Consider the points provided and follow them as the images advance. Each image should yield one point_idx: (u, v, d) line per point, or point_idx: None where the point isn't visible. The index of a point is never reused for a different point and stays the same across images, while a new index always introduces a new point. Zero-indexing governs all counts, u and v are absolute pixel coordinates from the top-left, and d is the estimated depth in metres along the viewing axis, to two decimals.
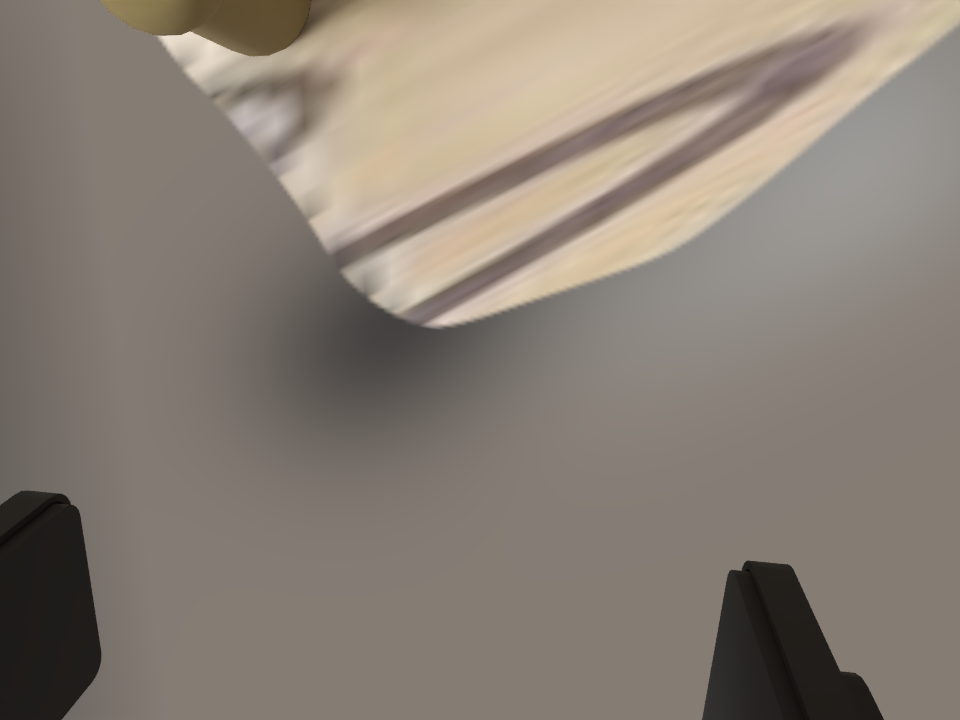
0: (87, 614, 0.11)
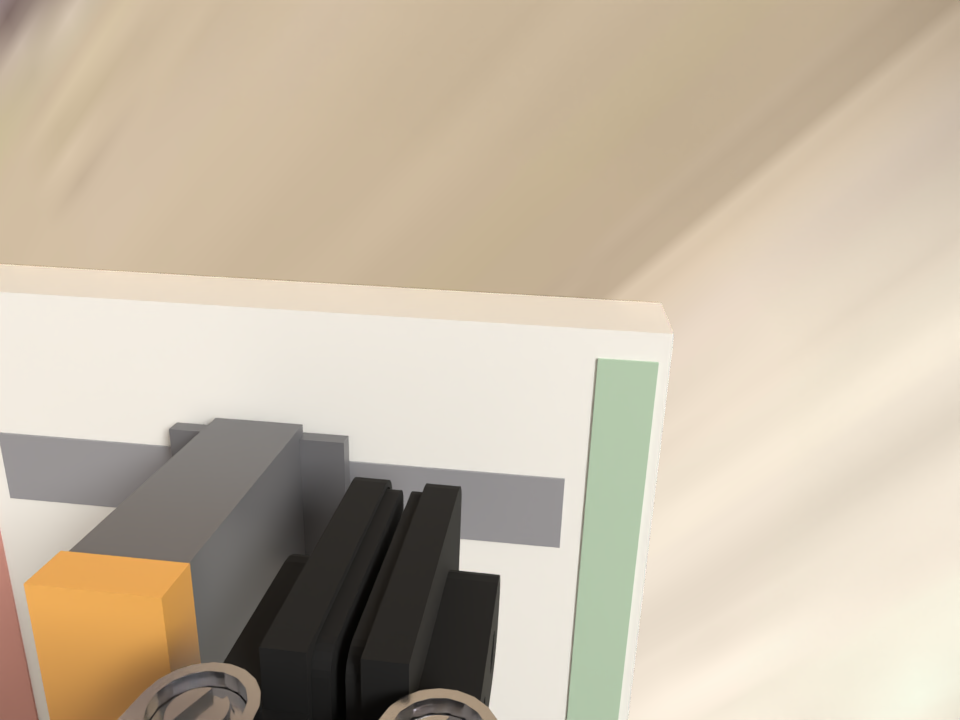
0: None
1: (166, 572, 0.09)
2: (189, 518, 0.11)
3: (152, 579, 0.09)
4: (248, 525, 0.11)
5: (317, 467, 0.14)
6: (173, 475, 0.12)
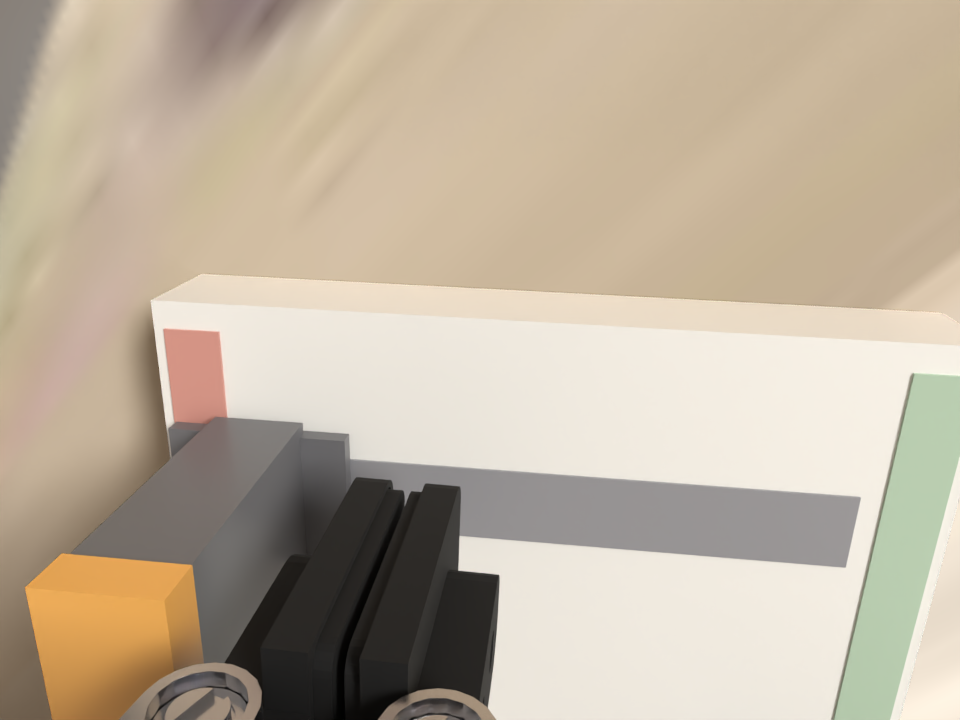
0: None
1: (169, 574, 0.09)
2: (192, 519, 0.11)
3: (155, 581, 0.09)
4: (250, 525, 0.11)
5: (318, 465, 0.14)
6: (173, 476, 0.12)
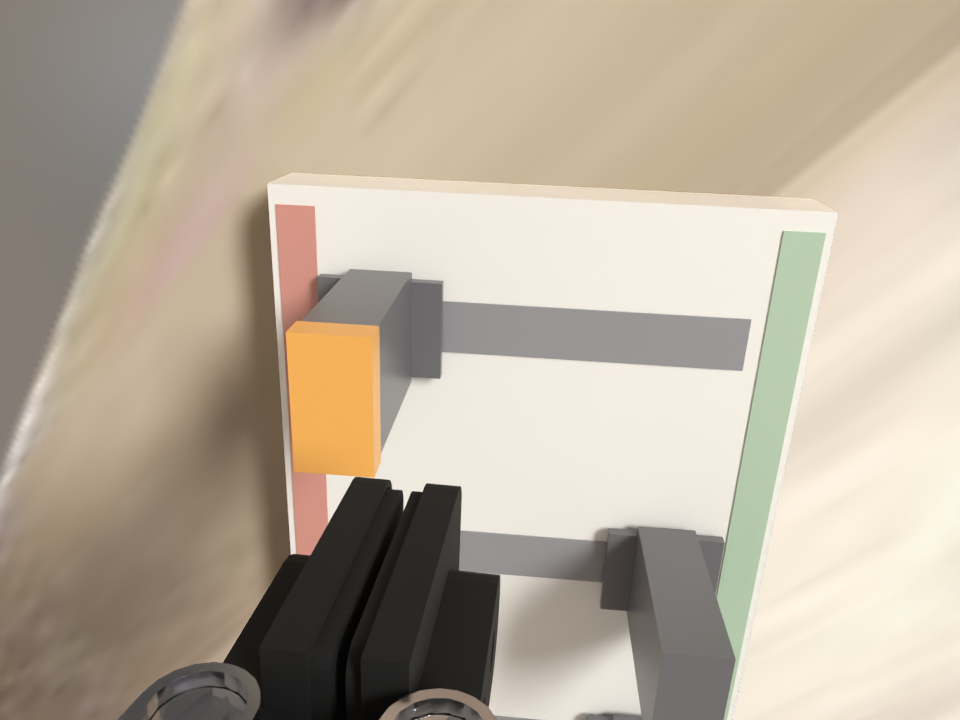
0: None
1: (368, 328, 0.15)
2: (365, 310, 0.17)
3: (361, 331, 0.15)
4: (394, 324, 0.17)
5: (422, 302, 0.20)
6: (341, 294, 0.18)
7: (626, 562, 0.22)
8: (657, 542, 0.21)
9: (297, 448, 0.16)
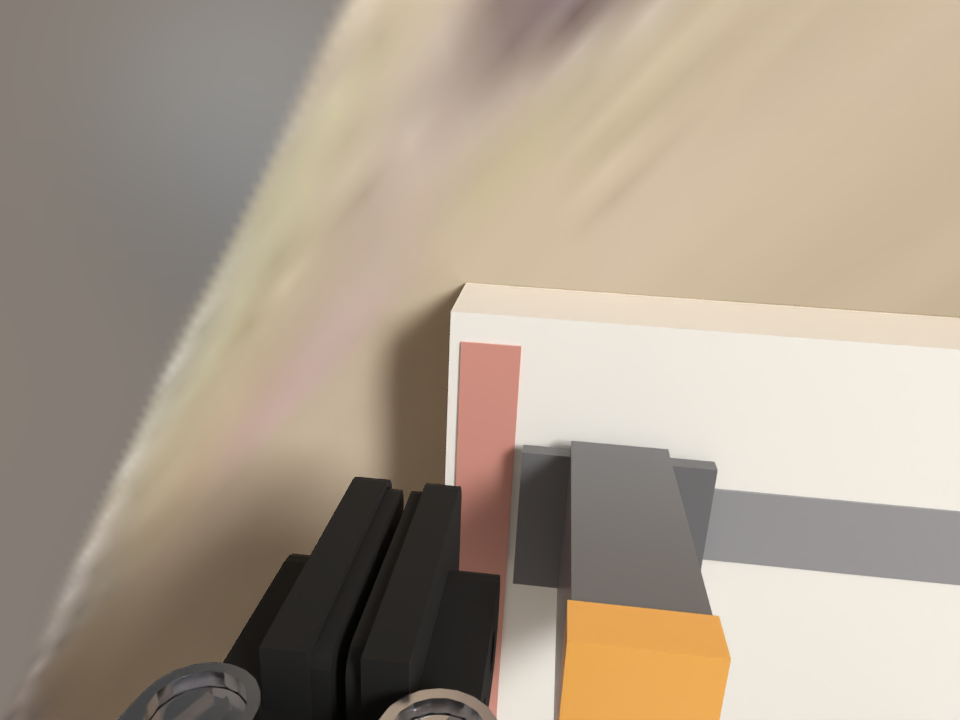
0: None
1: (706, 627, 0.08)
2: (660, 560, 0.10)
3: (698, 635, 0.08)
4: None
5: (682, 495, 0.13)
6: (594, 508, 0.11)
7: None
8: None
9: None
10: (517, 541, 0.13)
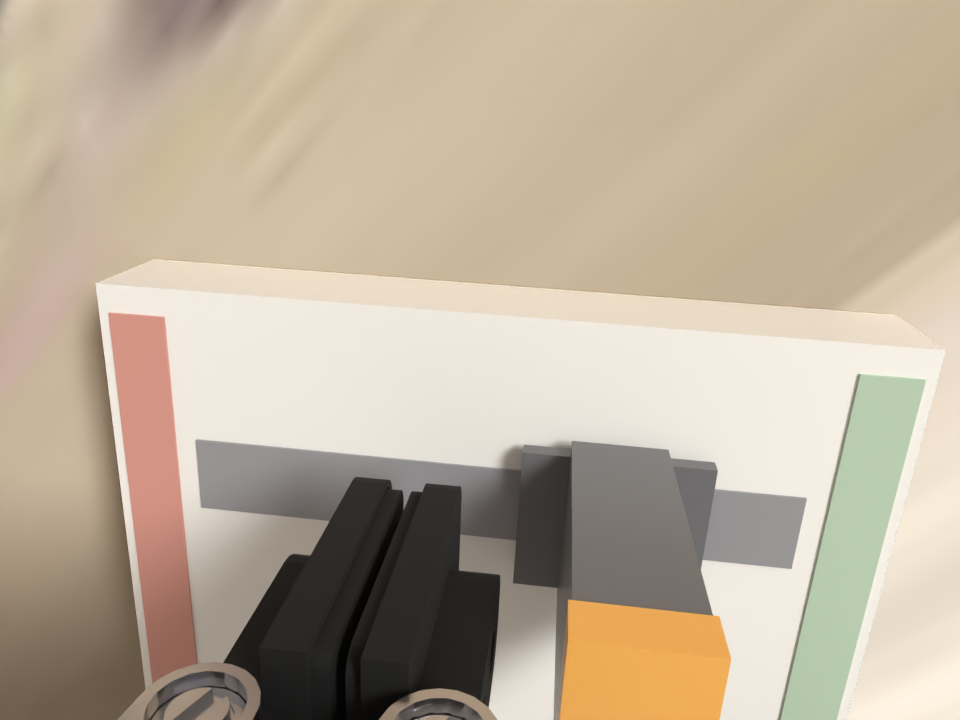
0: None
1: (706, 627, 0.08)
2: (660, 560, 0.10)
3: (699, 636, 0.08)
4: None
5: (682, 495, 0.13)
6: (594, 508, 0.11)
7: None
8: None
9: None
10: (517, 541, 0.13)
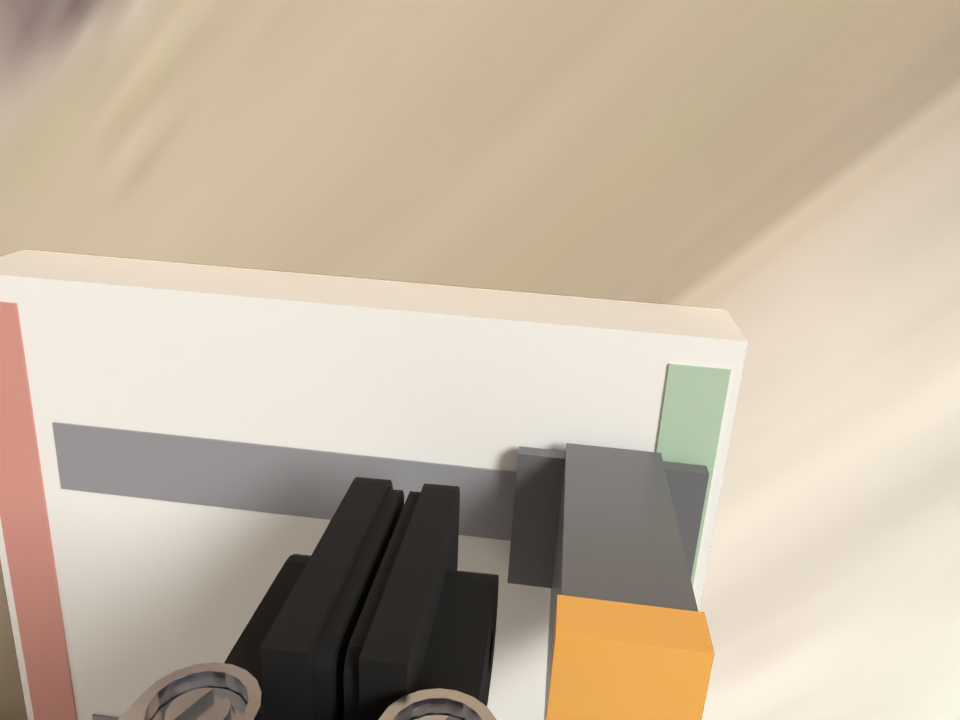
0: None
1: (691, 622, 0.09)
2: (649, 558, 0.10)
3: (683, 630, 0.09)
4: None
5: (674, 498, 0.13)
6: (586, 508, 0.11)
7: None
8: None
9: None
10: (512, 541, 0.14)
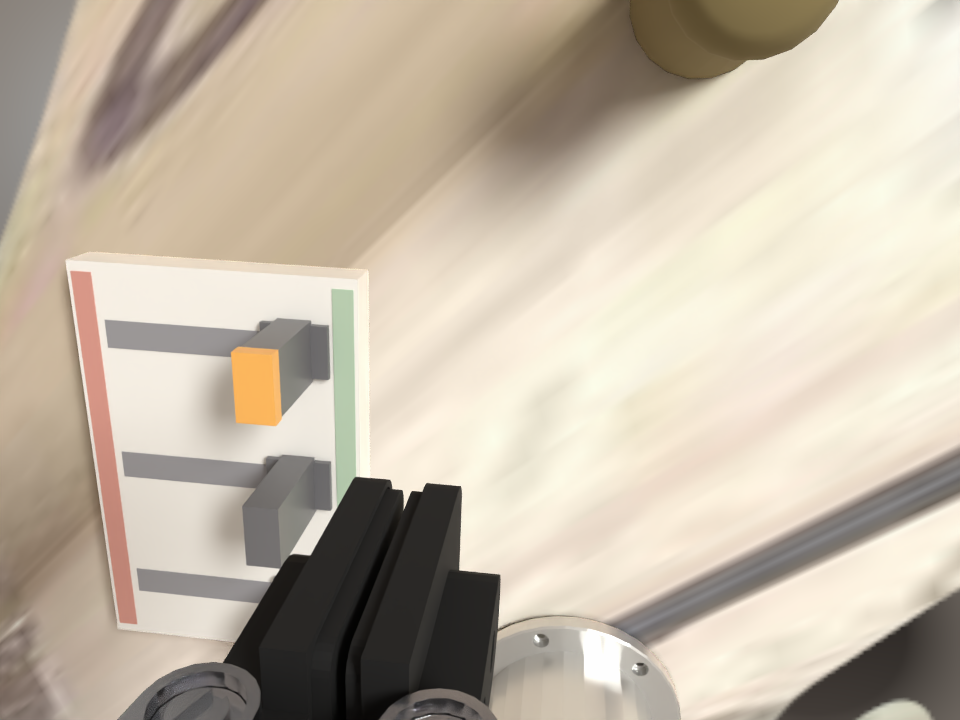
0: None
1: (271, 351, 0.31)
2: (275, 341, 0.32)
3: (268, 352, 0.31)
4: (293, 348, 0.33)
5: (316, 337, 0.35)
6: (266, 332, 0.34)
7: None
8: (286, 462, 0.37)
9: (237, 410, 0.32)
10: None
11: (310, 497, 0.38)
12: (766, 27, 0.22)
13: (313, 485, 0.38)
